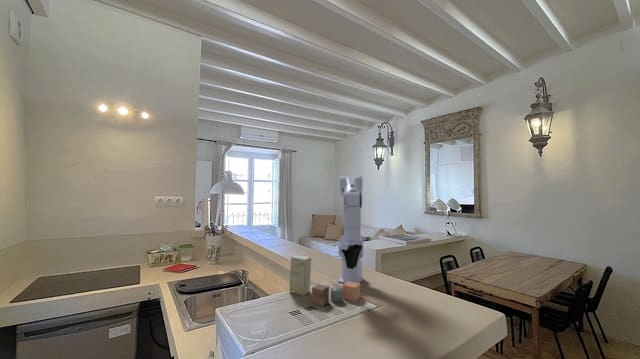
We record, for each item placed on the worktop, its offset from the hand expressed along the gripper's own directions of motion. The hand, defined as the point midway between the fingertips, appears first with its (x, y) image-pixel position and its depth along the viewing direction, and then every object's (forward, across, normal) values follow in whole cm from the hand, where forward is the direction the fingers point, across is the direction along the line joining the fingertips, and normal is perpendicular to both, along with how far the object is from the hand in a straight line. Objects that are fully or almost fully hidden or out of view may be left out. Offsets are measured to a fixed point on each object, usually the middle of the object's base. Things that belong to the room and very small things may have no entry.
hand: (351, 267), depth 85 cm
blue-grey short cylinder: (+10, -4, +4) cm, 12 cm away
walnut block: (+10, -9, +7) cm, 15 cm away
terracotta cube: (+10, 0, 0) cm, 10 cm away
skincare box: (+10, -5, +18) cm, 21 cm away
